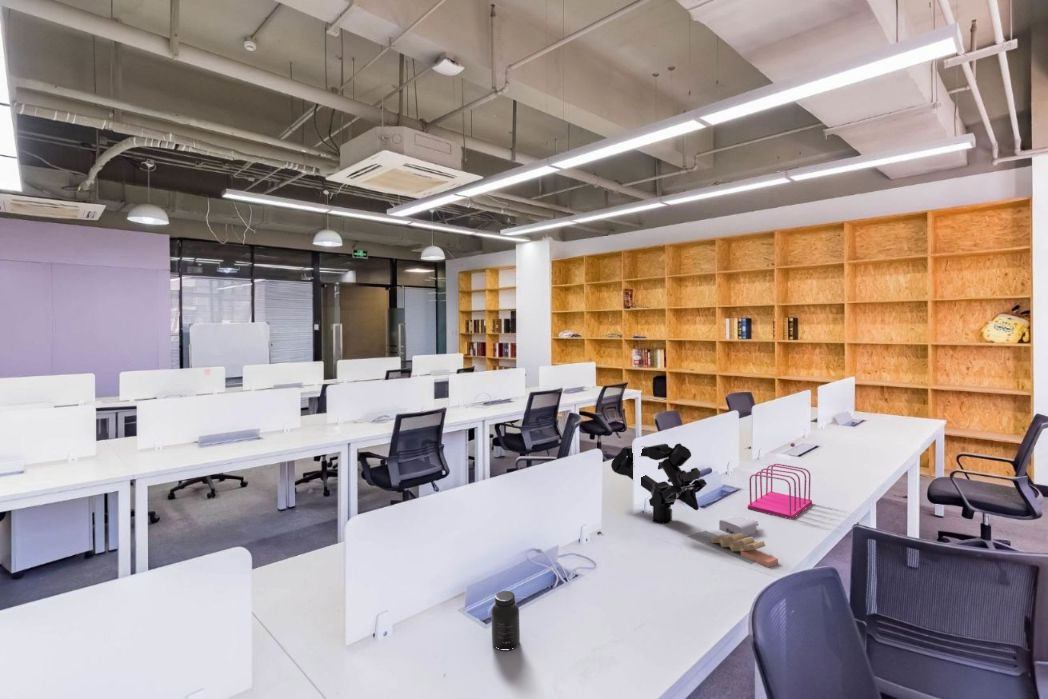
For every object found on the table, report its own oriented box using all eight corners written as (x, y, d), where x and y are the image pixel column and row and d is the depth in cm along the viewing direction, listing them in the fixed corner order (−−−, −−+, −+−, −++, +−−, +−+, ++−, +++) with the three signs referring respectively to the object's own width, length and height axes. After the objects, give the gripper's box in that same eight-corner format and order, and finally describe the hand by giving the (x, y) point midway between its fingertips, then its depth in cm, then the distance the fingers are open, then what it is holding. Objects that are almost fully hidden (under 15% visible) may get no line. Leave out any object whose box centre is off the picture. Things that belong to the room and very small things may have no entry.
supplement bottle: (491, 635, 131) (490, 589, 130) (518, 634, 131) (518, 587, 131) (492, 652, 124) (491, 603, 123) (520, 651, 124) (520, 601, 124)
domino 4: (740, 550, 172) (768, 562, 164) (750, 547, 175) (778, 558, 166) (740, 555, 172) (768, 567, 164) (750, 552, 175) (778, 563, 166)
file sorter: (747, 509, 217) (747, 472, 217) (770, 495, 235) (770, 460, 234) (792, 520, 205) (792, 480, 204) (812, 504, 223) (812, 467, 222)
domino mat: (687, 538, 189) (687, 536, 189) (705, 532, 194) (705, 530, 194) (751, 565, 166) (751, 564, 166) (770, 558, 172) (770, 556, 172)
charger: (766, 531, 194) (740, 540, 187) (744, 523, 202) (719, 531, 195) (766, 518, 194) (740, 527, 186) (744, 511, 202) (719, 519, 194)
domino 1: (710, 538, 183) (732, 536, 175) (719, 535, 185) (742, 533, 177) (711, 543, 182) (734, 541, 174) (721, 540, 185) (743, 537, 177)
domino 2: (719, 542, 179) (743, 540, 171) (729, 539, 182) (752, 536, 174) (721, 547, 179) (745, 545, 171) (731, 544, 181) (754, 541, 173)
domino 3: (729, 546, 176) (754, 544, 168) (739, 543, 179) (763, 540, 171) (731, 551, 175) (755, 549, 167) (740, 548, 178) (765, 546, 170)
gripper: (667, 465, 189) (692, 503, 180) (702, 457, 199) (727, 493, 190) (652, 481, 196) (674, 518, 187) (686, 473, 206) (709, 508, 197)
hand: (697, 509), depth 190 cm, fingers closed
